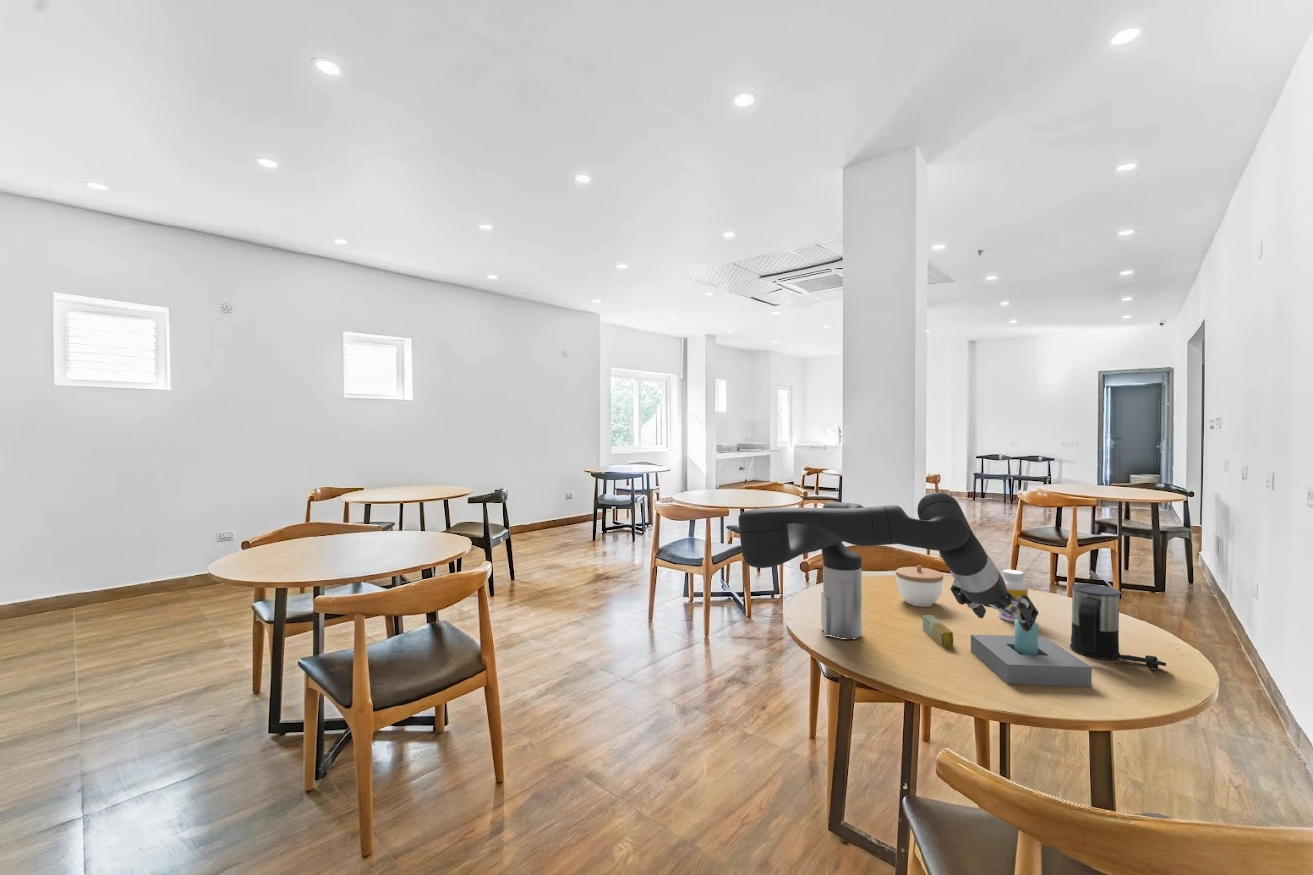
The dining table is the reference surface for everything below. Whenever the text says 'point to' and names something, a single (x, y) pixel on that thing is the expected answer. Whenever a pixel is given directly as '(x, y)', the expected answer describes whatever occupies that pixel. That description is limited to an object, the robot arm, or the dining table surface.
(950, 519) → the robot arm
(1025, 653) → the peg
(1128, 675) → the dining table surface
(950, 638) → the medication box
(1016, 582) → the supplement bottle
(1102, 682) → the dining table surface
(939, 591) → the lidded bowl
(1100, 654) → the milk frother
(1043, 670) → the socket block
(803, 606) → the dining table surface
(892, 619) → the dining table surface
